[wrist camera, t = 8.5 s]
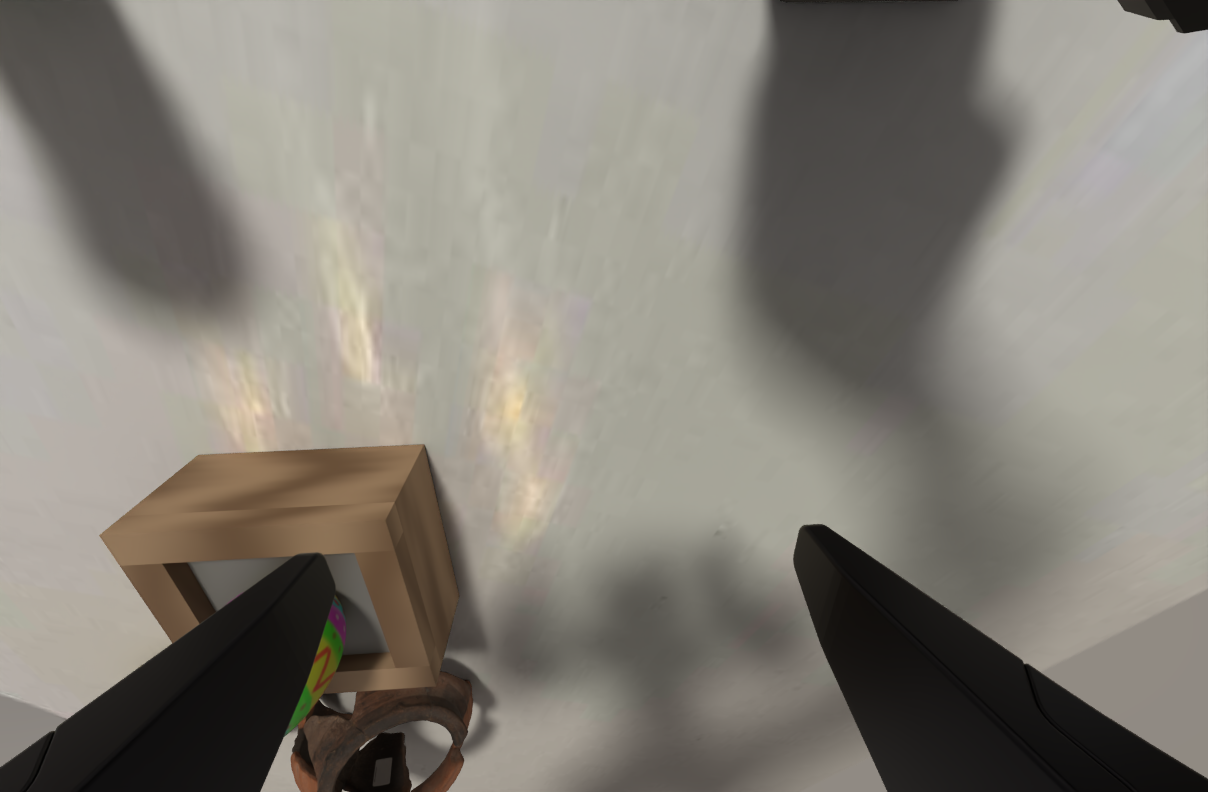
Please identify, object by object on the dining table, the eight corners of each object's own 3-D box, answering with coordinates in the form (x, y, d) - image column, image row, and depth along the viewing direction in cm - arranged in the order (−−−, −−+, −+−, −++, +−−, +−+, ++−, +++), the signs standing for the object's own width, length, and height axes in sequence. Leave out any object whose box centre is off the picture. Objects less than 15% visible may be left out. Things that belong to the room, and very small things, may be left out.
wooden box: (423, 444, 22) (385, 520, 17) (459, 595, 26) (436, 686, 22) (198, 455, 21) (98, 535, 17) (274, 606, 26) (212, 701, 21)
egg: (256, 641, 21) (148, 808, 16) (220, 561, 19) (81, 724, 13) (370, 639, 21) (303, 802, 16) (349, 560, 19) (262, 718, 14)
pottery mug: (285, 631, 28) (276, 747, 21) (450, 584, 32) (488, 666, 26) (306, 794, 30) (305, 945, 23) (457, 729, 35) (492, 838, 28)
